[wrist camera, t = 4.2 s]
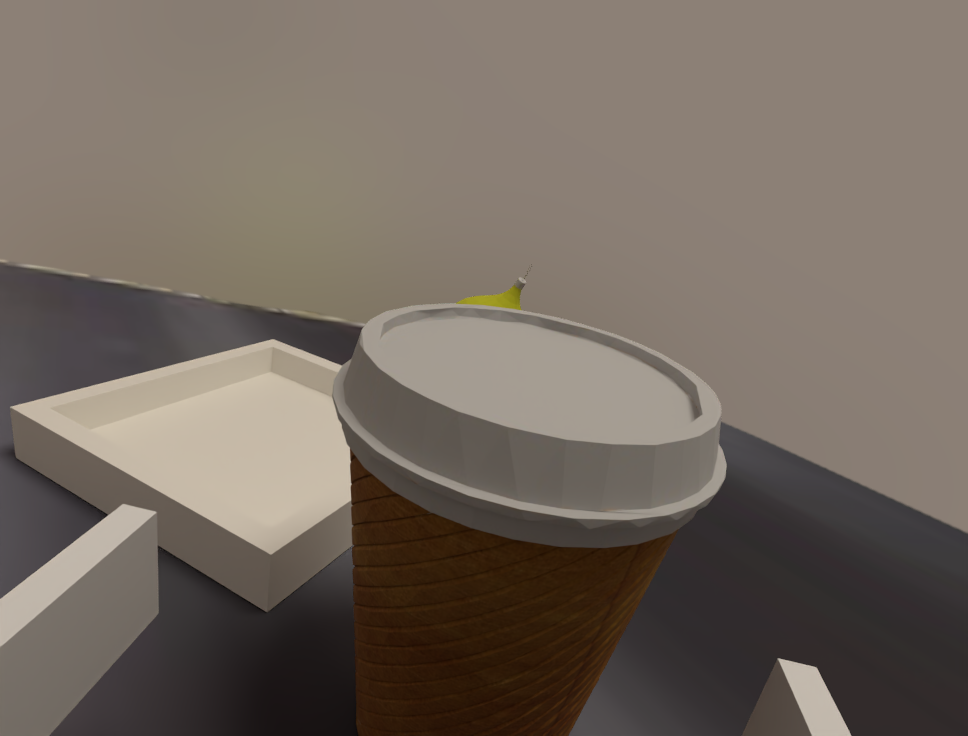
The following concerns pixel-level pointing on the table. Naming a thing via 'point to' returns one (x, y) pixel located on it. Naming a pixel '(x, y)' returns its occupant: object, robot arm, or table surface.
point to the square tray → (211, 461)
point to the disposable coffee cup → (508, 510)
